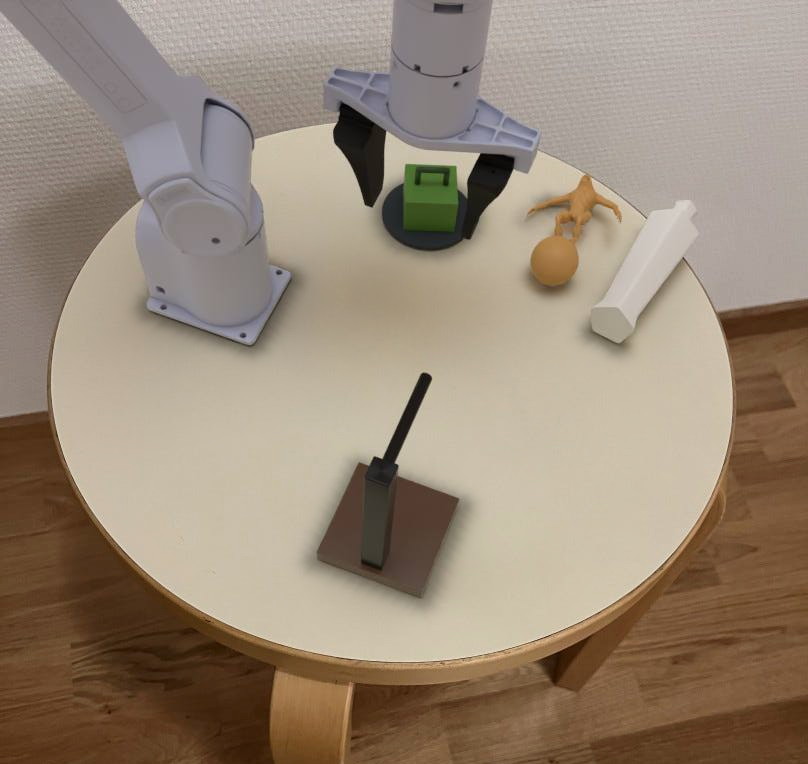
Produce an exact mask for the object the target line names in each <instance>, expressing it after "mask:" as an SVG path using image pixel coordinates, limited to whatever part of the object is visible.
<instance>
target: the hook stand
mask: <svg viewBox="0 0 808 764" xmlns="http://www.w3.org/2000/svg"><path fill="white" fill-rule="evenodd" d="M432 381H433V377H432V375H431V374H430V373H428V372H422V373H420V375H419V377H418V379H417V381H416V383H415V386H414V387H413V389H412V392H411V394H410V397H409V399H408V401H407V402H406V405H405V408H404V409H403V411H402V414H401V416H400V419H399V420H398V423H397V425H396V428H395V430H394V432H393V434H392V436H391V438H390V440H389V443H388V445H387V447H386V449H385V452H384V454H383V456H382V458H381V457H379V456H376V455H374V456H373V457H372V459H371V461H370V462H369V463H370V464H365V463H363V462H360V461H359V462H358V463H357V465H356V467H355V469H354V471H353V474H352V475H351V477H350V480H349V482H348V484H347V487H346V489H345V491H344V492H343V495H342V497H341V499H340V502H339V504H338V505H337V508H336V510H335V512H334V514H333V516H332V518H331V521H330V523H329V525H328V527H327V529H326V531H325V534H324V535H323V538H322V540H321V542H320V544H319V546H318V548H317V551H316V559H317V560H318V561H321V562H325V563H327V564H329V565H332V566H334V567H338V568H339V569H343V570H345V571H348V572H351V573H353V574H356V575H358V576H361V577H364V578H366V579H369V580H372V581H375V582H376V583H380V584H381V585H382V584H383V585H385V586H387V587H390V588H393V589H396V590H398V591H400V592H404V593H407V594H409V595H411V596H414V597H416V598H422V596H423V594H424V591H425V589H426V586H427V584H428V582H429V579H430V577H431V573H432V572H433V569H434V566H435V564H436V562H437V559H438V556H439V554H440V551H441V549H442V547H443V544H444V541H445V539H446V537H447V534H448V531H449V530H450V527H451V524H452V521H453V519H454V516H455V514H456V511H457V509H458V507H459V504H460V503H459V502H460V498H459V497H456V496H454V495H451V494H448V493H447V492H446V493H445V492H443V491H440V490H437V489H434V488H432V487H429V486H427V485H424V484H421V483H418V482H415V481H412V480H410V479H407V478H404V477H401V476H399V468H400V465H399V464H398V463H396V462H397V460H398V457H399V455H400V453H401V451H402V448H403V447H404V444H405V441H406V439H407V437H408V435H409V433H410V431H411V428H412V426H413V423H414V422H415V419H416V417H417V415H418V413H419V410H420V408H421V405H422V404H423V401H424V399H425V397H426V394H427V392H428V390H429V389H430V385H431V383H432Z"/></svg>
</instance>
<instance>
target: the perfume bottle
mask: <svg viewBox="0 0 808 764" xmlns="http://www.w3.org/2000/svg"><path fill="white" fill-rule="evenodd" d="M698 212H699V211H698V209H697V208H696V206H695V204H694V203H693V201H692V200H690V199H681V200H676V201H675V202H674V206H673V207H672V208H666V209H656V210H651V211H650V213H649V214H648V216H647V218H646V220H645V223H644V224H643V226H642V227H641V229H640V231H639V233H638V235H637V236H636V238H635V240H634V242H633V244H632V246H631V248H630V249H629V251H628V253H627V255H626V257H625V258H624V260H623V262H622V264H621V266H620V268H619V269H618V270H617V271H618V272H617V273H616V275H615V277H614V279H613V280H612V283H611V284H610V286H609V288H608V290H607V292H606V294H605V295H604V297H603V299H602V300H600V301H599V302H598V303H596V304H595V305H594V306H592V307H591V308H590V318H591V319H590V320H591V330H592V331H593V332H594V333H596V334H598V335H600V336H602V337H604V338H606V339H608V340H610V341H612V342H613V343H616V344H621V343H622V342H623V341H624V340H626V339H627V337H629V336H631V334H633V333H634V332H635V329H636V326H637V322H638V317H639V316H640V314H641V313H642V312H643V310H644V309H645V308H646V307H647V305H649V303H650V302H651V300H652V299H653V298H654V296H655V294H657V292H658V291H659V290H660V288H661V287H662V286H663V284H664V283H665V282H666V281H667V280H668V278H669V276H670V275H671V274H672V272H674V270H675V269H676V267H677V266H678V264H679V263H680V262H681V260H682V259H683V258H684V257H685V255H686V254H687V252H688V251H689V250H690V249H691V248H692V246H693V245H694V243H695V242H696V241H697V239H698V238H699V237H700V232H699V230H698V229H697V227H696V226H695V224H694V223H693V222H692V220H693V218H694V217H695V216H697V214H698Z"/></svg>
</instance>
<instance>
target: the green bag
mask: <svg viewBox="0 0 808 764" xmlns="http://www.w3.org/2000/svg"><path fill="white" fill-rule="evenodd" d="M457 169H458V167H457V165H445V164H444V165H443V164H422V163H421V164H420V163H419V164H417V163H405V164H404V174H403V176H404V177H403V183H404V187H403V224H404V230H416V231H444V232H454V229H455V223H456V216H457V209H458V190H459V189H458V170H457Z"/></svg>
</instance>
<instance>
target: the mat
mask: <svg viewBox="0 0 808 764" xmlns="http://www.w3.org/2000/svg"><path fill="white" fill-rule="evenodd" d="M403 187H404V182H402V183H400V184H398V185H397V186H396V187H394V188H393V189H391V190H390V192H389V193H388V194H387V195H386V197H385V199H384V200H383V204H382V208H381V218H382V222H383V225H384V227H385V229H386V230H387V233H389V235H390V236H392V237H393V239H395V240H396V241H398V242H399V243H401V244H402V245H404V246H406V247H409V248H412V249H415V250H420V251H427V252H432V251H433V252H434V251H441V250H446V249H448V248H452V247H453V246H456V245H458V244H459V243H461V242H462V241H463V240H464V239H465V238H462V237H461V231H462V226H463V222H464V218H465V214H466V209H467V197H466V195H465V194H464V193H463V192H462V191H461V190H460V189H458V209H457V216H456V223H455V229H454V232H444V231H416V230H404V224H403Z"/></svg>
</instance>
